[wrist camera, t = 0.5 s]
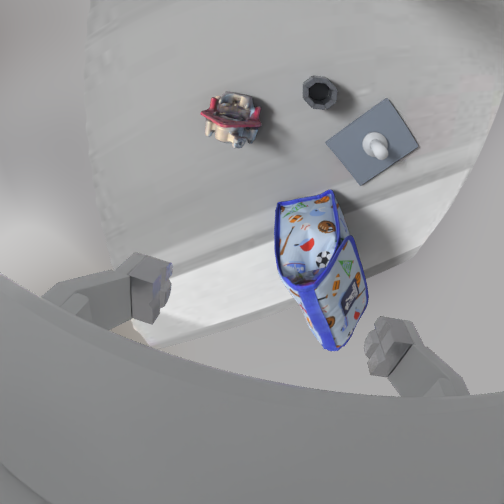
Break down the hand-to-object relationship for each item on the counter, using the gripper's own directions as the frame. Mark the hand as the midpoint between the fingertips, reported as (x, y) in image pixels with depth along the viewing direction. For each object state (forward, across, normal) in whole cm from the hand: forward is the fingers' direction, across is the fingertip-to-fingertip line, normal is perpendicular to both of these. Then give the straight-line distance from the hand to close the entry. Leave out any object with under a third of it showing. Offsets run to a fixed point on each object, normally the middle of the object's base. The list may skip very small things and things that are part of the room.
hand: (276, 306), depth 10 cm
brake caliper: (+47, +12, -8) cm, 49 cm away
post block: (+47, -16, -10) cm, 50 cm away
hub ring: (+44, -2, -16) cm, 47 cm away
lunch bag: (+54, -12, +14) cm, 57 cm away
